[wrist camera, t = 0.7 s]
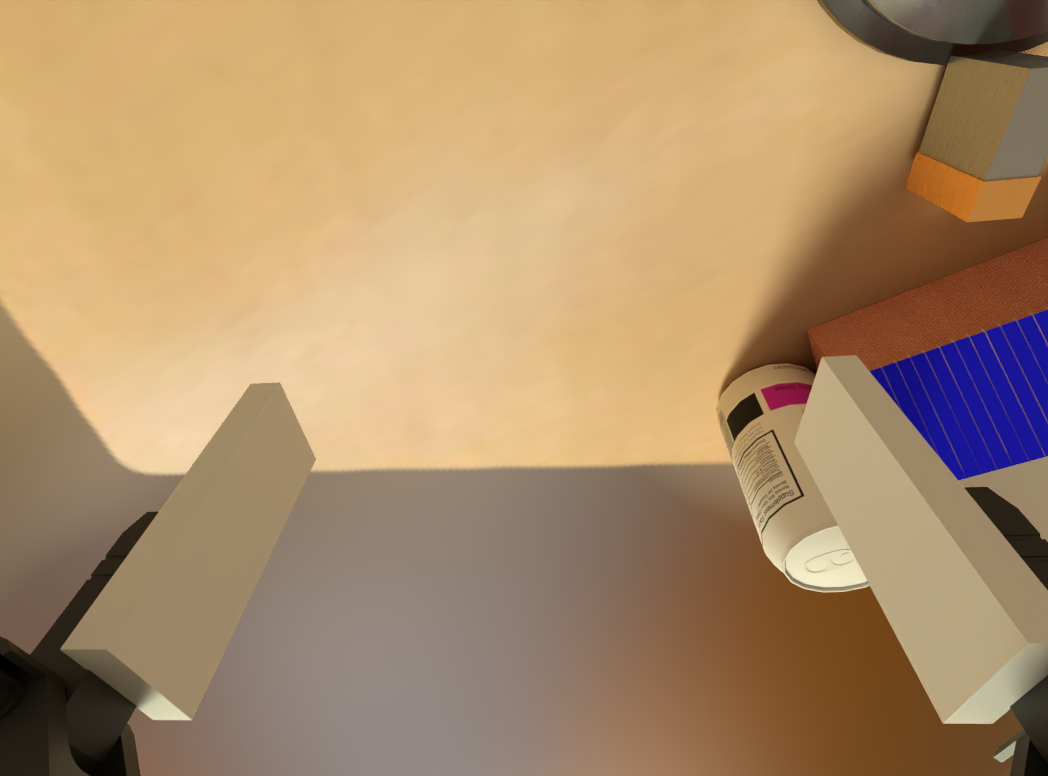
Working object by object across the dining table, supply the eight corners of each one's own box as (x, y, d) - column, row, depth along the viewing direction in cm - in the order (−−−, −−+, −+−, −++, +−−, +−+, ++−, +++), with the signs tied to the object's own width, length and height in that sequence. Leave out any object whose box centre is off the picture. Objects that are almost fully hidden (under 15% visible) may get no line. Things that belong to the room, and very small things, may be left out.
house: (800, 327, 39) (879, 434, 29) (1137, 198, 32) (1373, 282, 23) (829, 434, 45) (902, 550, 36) (1117, 343, 39) (1297, 455, 29)
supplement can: (797, 339, 39) (900, 495, 27) (835, 408, 43) (940, 571, 31) (697, 389, 42) (750, 547, 31) (740, 449, 46) (802, 610, 34)
